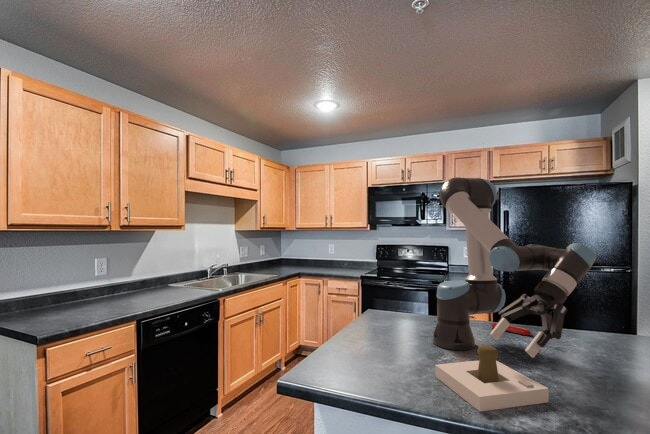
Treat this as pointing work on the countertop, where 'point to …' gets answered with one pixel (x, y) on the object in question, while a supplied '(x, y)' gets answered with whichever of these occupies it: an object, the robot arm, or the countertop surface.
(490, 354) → the cork
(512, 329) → the red rounded rod
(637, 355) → the countertop surface
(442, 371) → the socket block
